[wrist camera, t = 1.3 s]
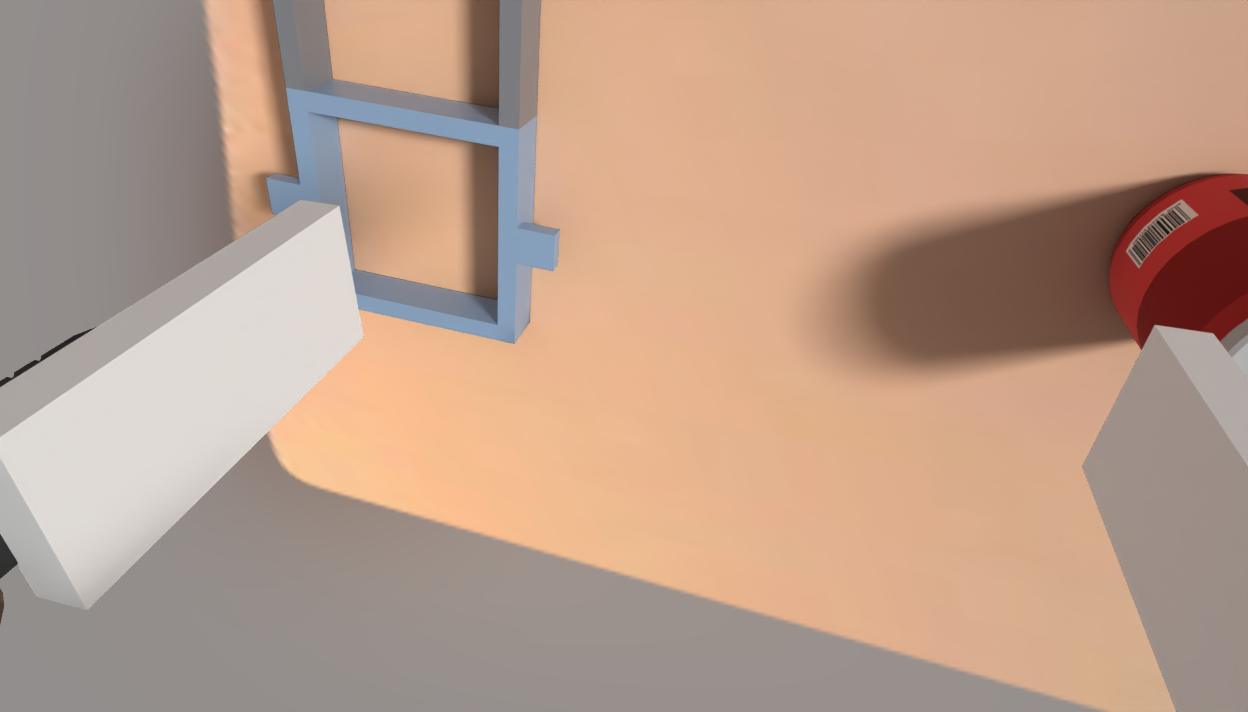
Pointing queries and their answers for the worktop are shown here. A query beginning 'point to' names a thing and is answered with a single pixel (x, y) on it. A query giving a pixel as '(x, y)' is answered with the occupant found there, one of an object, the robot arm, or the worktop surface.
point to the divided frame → (505, 127)
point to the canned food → (1188, 264)
